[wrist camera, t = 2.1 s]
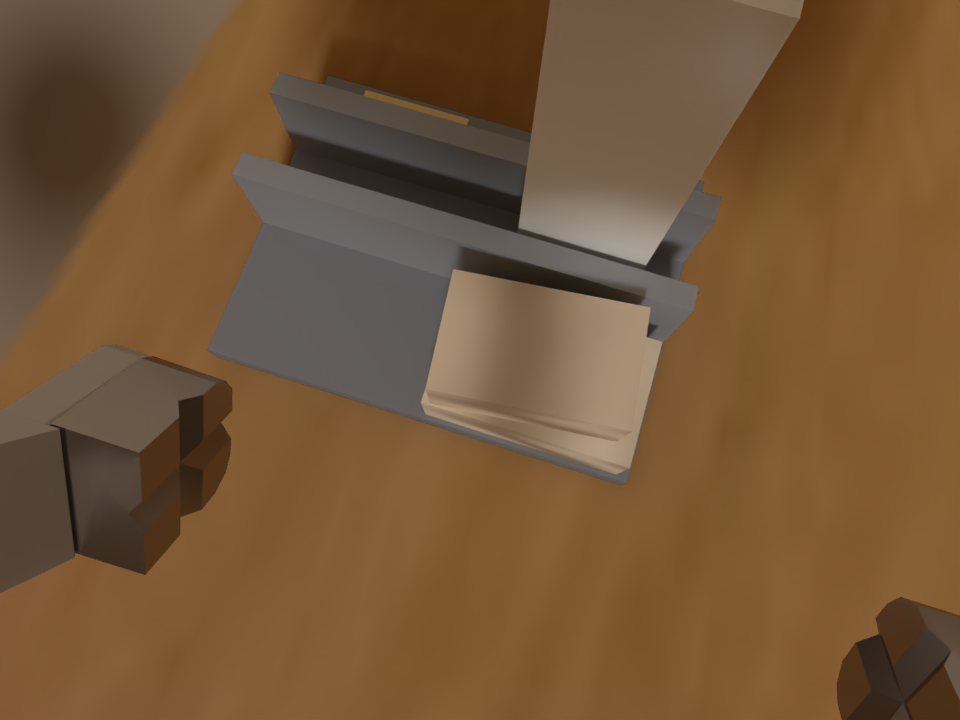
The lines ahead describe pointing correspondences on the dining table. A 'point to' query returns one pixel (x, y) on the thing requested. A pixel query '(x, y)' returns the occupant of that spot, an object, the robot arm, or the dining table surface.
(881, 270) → the dining table surface
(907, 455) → the dining table surface
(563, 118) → the plank
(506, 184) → the rack
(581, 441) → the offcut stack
